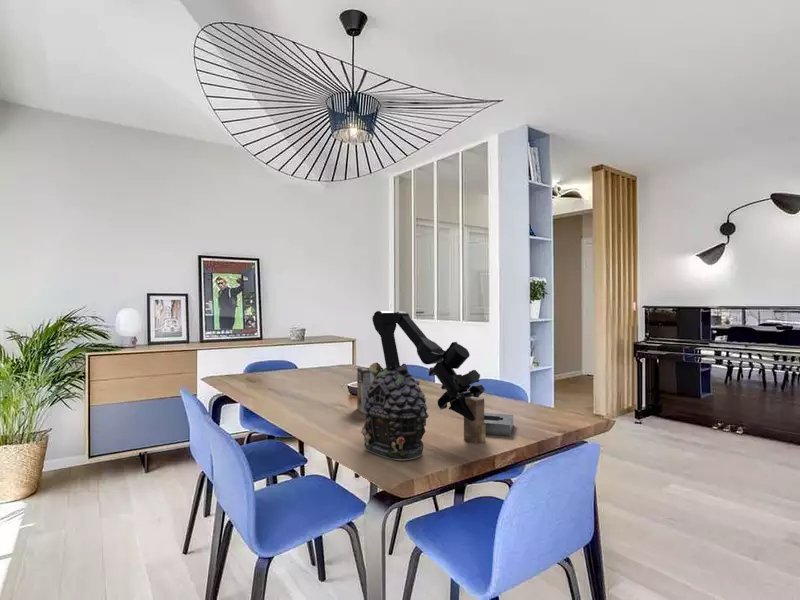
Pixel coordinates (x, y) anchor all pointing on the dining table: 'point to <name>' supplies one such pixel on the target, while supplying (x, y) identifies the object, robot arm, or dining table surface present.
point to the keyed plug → (475, 428)
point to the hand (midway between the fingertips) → (477, 418)
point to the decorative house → (394, 413)
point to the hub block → (498, 424)
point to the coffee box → (362, 387)
